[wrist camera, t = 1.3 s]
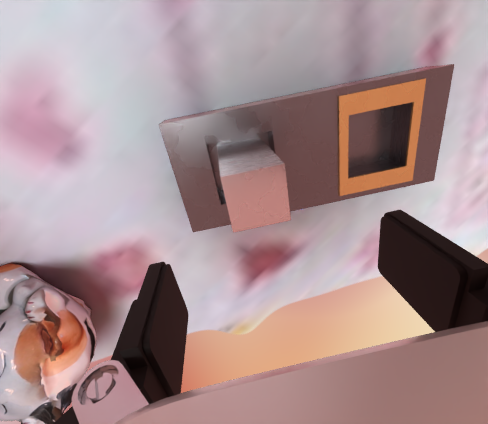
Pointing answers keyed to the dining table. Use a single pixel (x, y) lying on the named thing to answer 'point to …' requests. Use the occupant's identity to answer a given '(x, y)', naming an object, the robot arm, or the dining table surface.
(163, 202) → the dining table surface
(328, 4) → the dining table surface
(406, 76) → the hole rail
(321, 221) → the dining table surface
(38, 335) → the lucky cat figurine
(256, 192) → the steel peg
